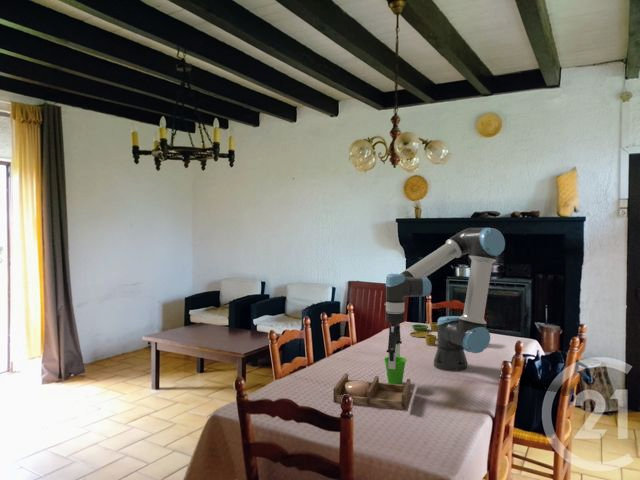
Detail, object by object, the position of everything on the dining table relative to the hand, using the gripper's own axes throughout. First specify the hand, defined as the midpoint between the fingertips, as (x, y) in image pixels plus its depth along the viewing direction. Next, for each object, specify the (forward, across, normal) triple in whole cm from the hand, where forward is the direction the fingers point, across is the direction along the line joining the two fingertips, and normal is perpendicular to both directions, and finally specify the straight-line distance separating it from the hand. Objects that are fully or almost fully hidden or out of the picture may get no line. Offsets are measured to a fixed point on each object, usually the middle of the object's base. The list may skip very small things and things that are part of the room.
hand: (394, 364), depth 191 cm
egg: (+8, +17, -12) cm, 22 cm away
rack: (+9, +17, -6) cm, 20 cm away
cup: (+9, 0, 0) cm, 9 cm away
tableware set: (+9, -88, +11) cm, 89 cm away
